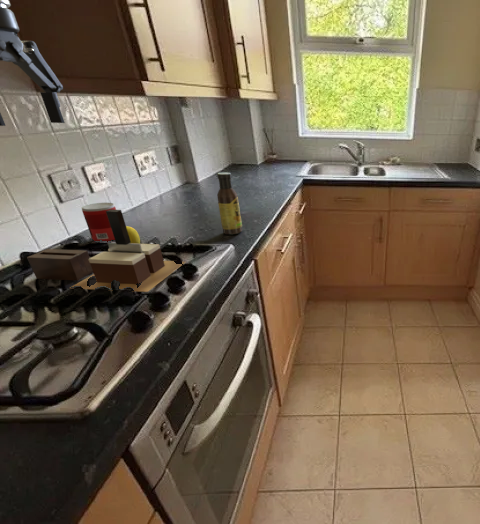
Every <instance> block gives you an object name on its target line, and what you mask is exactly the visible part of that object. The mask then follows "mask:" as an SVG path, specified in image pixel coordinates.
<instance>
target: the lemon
mask: <svg viewBox="0 0 480 524" xmlns="http://www.w3.org/2000/svg"><path fill="white" fill-rule="evenodd" d="M126 228H127V231H128V234H129V238H130V241H131V243H137V244H141V238H140V234H139V232H138V231H137V229H135V228H134V227H131V226H130V225H129V226H127V225H126Z"/></svg>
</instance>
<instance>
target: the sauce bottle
mask: <svg viewBox="0 0 480 524" xmlns="http://www.w3.org/2000/svg"><path fill="white" fill-rule="evenodd" d="M216 176H217V179H218V184H219V189H218V191H217V195H216V197H217V204H218V210H219V216H220V223H221V228H222V232H223V234H225V235H231V236H232V235H237V234H240V233H242V231H243V222H242V217H241V209H240V204H239V196H238V193H237V192H236V190H235V189H234V188H233V184H232V173H231V172H226V171H225V172H217V173H216Z"/></svg>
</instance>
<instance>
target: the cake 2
mask: <svg viewBox="0 0 480 524" xmlns="http://www.w3.org/2000/svg"><path fill="white" fill-rule="evenodd" d="M130 244H137V243H130ZM140 246H141V249H142V252H143V253H144V254H145V258H146V261H147V265H148V268H149V271H150V273H155V272H157V271H158V270H160V269H161V268H162V267H164V266H165V264H164V261H165V260H164V257H163V253H162V249H161V246H160V244H159V243H158V244H157V243H140ZM107 252H110V249H109V248H108V249H107Z"/></svg>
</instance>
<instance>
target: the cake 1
mask: <svg viewBox="0 0 480 524" xmlns="http://www.w3.org/2000/svg"><path fill="white" fill-rule="evenodd" d="M89 262H90V265H91V267H92V270H93V272H92V274H94V276H95V278H96V281H97V282H100V283H111V282H112V281H113V280H116V281H119V282H120V283H121V284H137V283H138V284H139V283H141V282H143V281H144V280H146V279H147V278H148V277H150V276H151V275H150V271H149V268H148V265H147V261H146V258H145V254H144V253H122V252H109V251H101V252H99V253H98V254H96V255H93V256H92V257H90V259H89Z"/></svg>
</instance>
